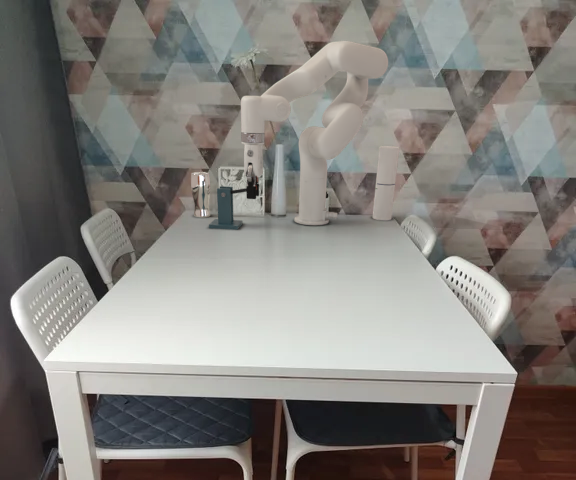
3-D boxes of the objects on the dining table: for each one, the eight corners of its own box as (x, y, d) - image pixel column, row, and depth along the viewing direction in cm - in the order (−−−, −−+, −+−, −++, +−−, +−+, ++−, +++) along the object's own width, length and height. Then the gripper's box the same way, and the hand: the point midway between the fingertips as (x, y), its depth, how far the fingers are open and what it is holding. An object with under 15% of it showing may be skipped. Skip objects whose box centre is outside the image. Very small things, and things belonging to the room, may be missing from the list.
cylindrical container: (382, 221, 204) (389, 148, 192) (368, 217, 209) (375, 146, 197) (395, 218, 208) (403, 147, 196) (381, 215, 213) (389, 145, 201)
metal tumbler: (210, 218, 202) (208, 175, 194) (191, 217, 202) (188, 174, 194) (212, 214, 208) (211, 172, 201) (194, 213, 208) (192, 171, 201)
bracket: (242, 223, 195) (241, 186, 189) (237, 229, 187) (236, 190, 181) (214, 222, 196) (213, 184, 190) (209, 228, 188) (207, 189, 182)
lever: (257, 190, 187) (256, 183, 186) (255, 193, 183) (253, 186, 182) (223, 196, 189) (222, 188, 188) (220, 198, 185) (218, 191, 184)
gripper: (260, 141, 169) (259, 202, 178) (268, 137, 184) (267, 193, 193) (236, 140, 170) (237, 201, 179) (246, 136, 185) (246, 192, 194)
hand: (252, 196), depth 186 cm, fingers closed on lever, 5 cm apart
